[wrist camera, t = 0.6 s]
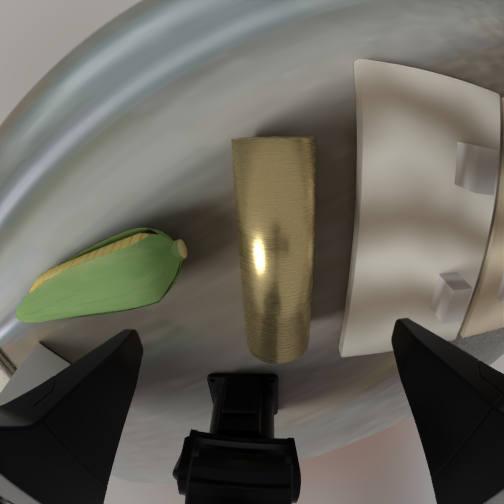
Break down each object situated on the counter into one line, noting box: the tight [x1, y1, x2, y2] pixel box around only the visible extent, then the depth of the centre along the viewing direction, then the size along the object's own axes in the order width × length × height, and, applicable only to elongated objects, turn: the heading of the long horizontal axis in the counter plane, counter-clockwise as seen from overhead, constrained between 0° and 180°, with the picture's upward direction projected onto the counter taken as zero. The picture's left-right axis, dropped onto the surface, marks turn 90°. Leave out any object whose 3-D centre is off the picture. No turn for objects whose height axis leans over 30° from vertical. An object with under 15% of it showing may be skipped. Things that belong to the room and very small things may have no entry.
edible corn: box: [16, 228, 187, 323], centre depth 20 cm, size 5×20×5 cm
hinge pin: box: [231, 136, 316, 363], centre depth 18 cm, size 14×4×4 cm, turn 3°
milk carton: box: [0, 342, 71, 406], centre depth 19 cm, size 7×7×19 cm
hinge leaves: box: [339, 59, 504, 357], centre depth 17 cm, size 22×25×4 cm
